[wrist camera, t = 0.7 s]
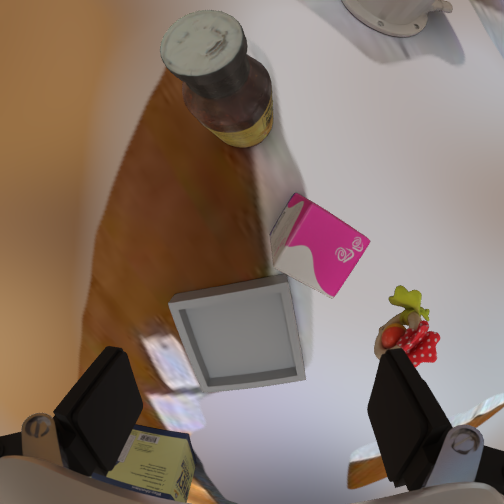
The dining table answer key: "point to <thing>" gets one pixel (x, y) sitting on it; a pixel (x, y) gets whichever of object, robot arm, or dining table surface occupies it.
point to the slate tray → (240, 334)
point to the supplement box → (315, 246)
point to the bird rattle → (416, 336)
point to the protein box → (154, 464)
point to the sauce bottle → (220, 77)
